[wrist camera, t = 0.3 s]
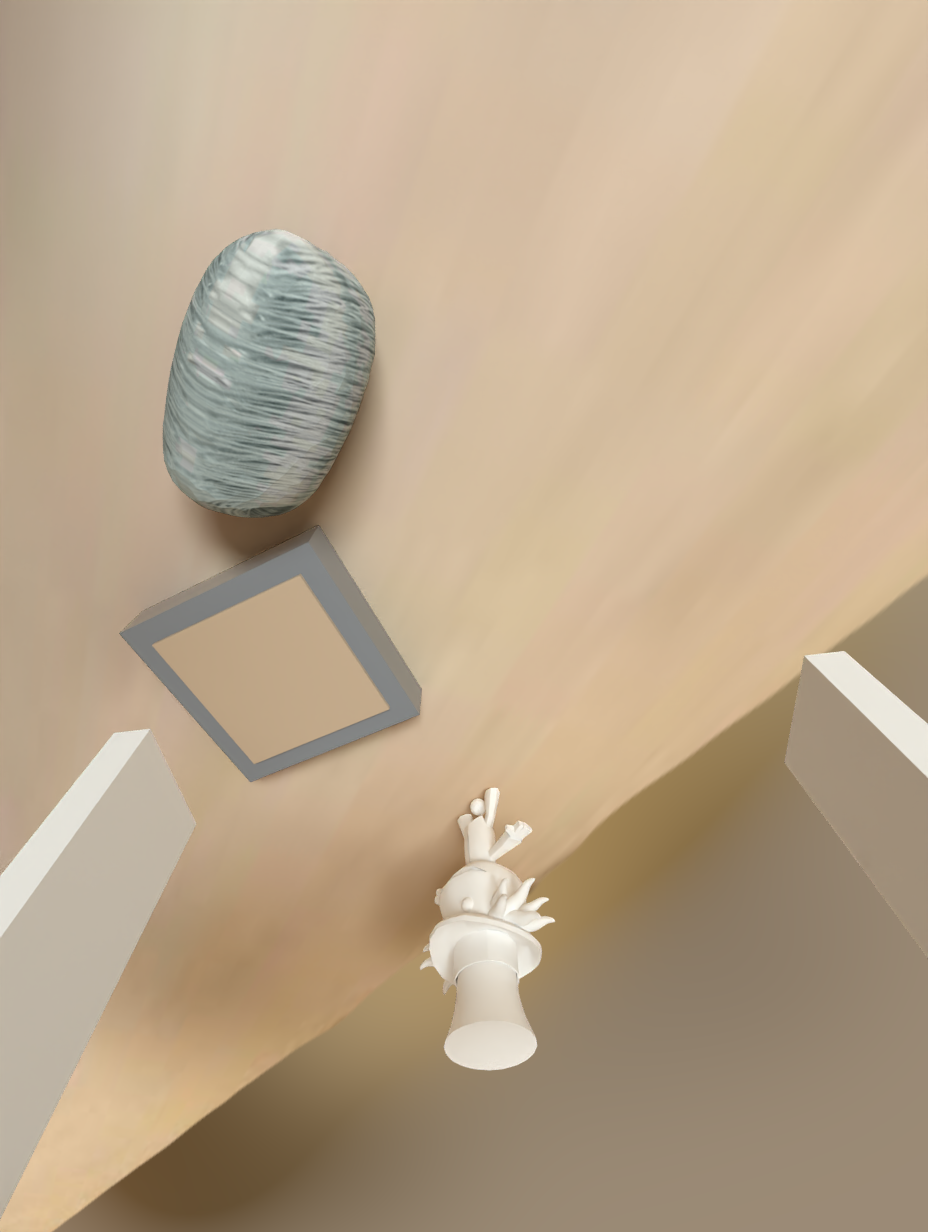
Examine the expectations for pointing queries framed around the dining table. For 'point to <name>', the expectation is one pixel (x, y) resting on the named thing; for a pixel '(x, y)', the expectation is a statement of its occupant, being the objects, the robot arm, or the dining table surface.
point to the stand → (278, 657)
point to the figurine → (487, 945)
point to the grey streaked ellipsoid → (266, 375)
